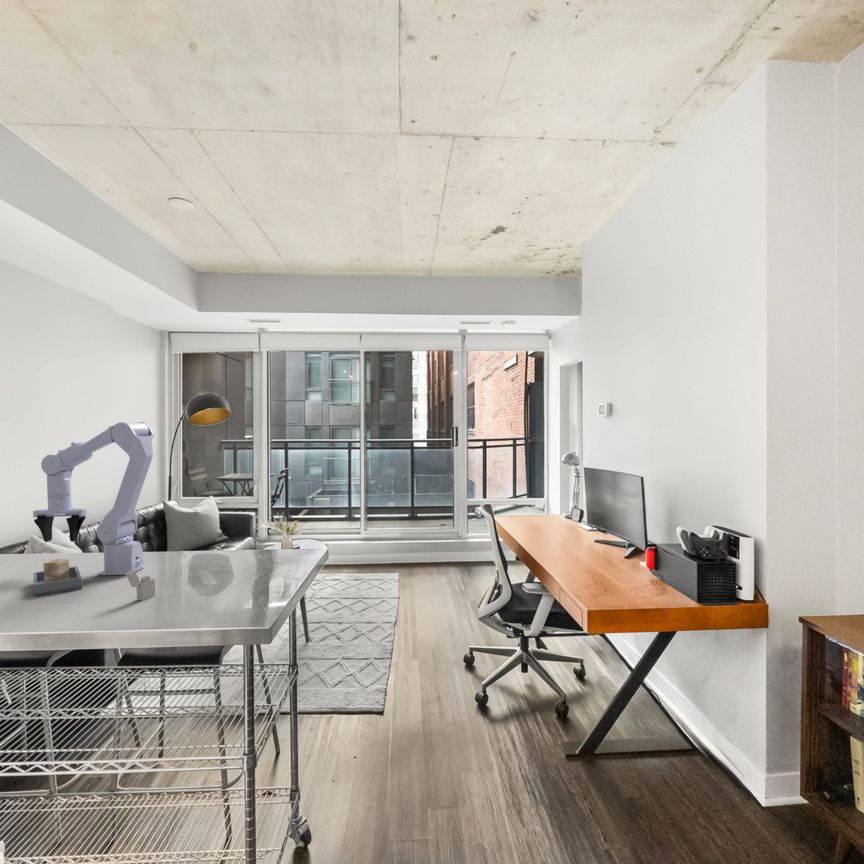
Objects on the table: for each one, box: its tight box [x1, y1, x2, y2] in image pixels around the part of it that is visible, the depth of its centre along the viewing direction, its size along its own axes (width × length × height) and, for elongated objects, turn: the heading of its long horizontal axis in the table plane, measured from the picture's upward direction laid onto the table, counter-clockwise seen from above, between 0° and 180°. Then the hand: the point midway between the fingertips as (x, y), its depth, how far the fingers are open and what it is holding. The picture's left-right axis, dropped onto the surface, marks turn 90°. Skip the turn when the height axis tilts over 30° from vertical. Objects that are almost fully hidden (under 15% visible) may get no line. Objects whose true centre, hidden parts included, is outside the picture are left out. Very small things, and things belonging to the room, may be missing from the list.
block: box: [43, 558, 70, 583], centre depth 145 cm, size 4×4×6 cm
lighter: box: [124, 570, 156, 601], centre depth 133 cm, size 7×2×8 cm, turn 160°
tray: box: [33, 566, 83, 598], centre depth 145 cm, size 10×14×3 cm
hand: (60, 540), depth 160 cm, fingers open, 7 cm apart
